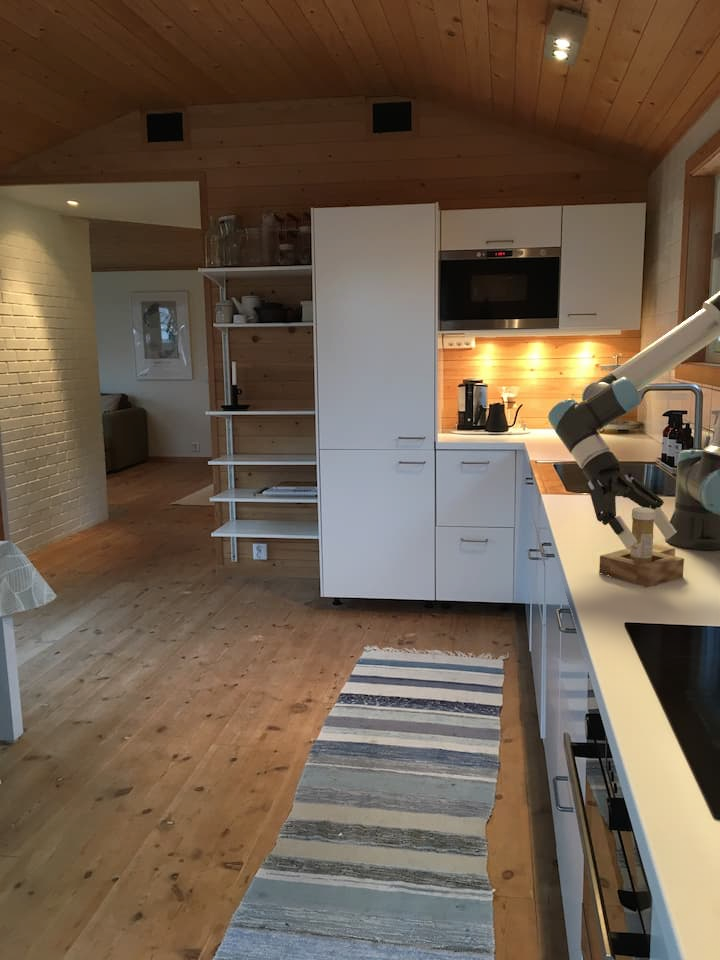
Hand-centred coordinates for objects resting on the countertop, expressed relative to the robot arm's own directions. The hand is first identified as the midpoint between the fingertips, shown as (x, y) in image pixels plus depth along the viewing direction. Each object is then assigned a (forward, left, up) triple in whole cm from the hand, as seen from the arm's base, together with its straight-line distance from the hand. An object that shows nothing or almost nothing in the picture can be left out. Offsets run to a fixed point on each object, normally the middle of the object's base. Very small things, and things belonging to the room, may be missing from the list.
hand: (652, 540), depth 159 cm
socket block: (0, -2, -8) cm, 8 cm away
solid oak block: (-9, -5, -8) cm, 13 cm away
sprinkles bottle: (0, -3, -7) cm, 8 cm away
